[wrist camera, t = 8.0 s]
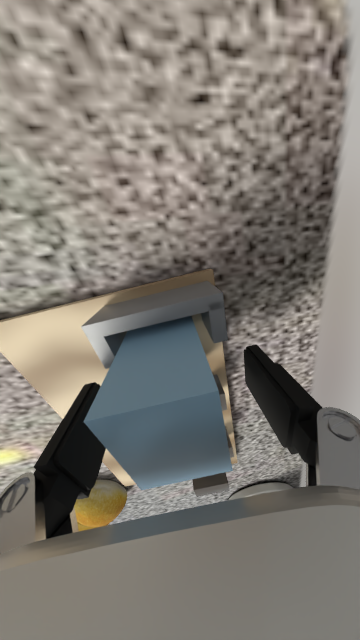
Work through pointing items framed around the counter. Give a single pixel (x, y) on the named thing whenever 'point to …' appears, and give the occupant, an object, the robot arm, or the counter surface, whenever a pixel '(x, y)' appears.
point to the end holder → (155, 316)
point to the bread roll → (100, 505)
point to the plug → (161, 407)
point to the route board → (85, 366)
